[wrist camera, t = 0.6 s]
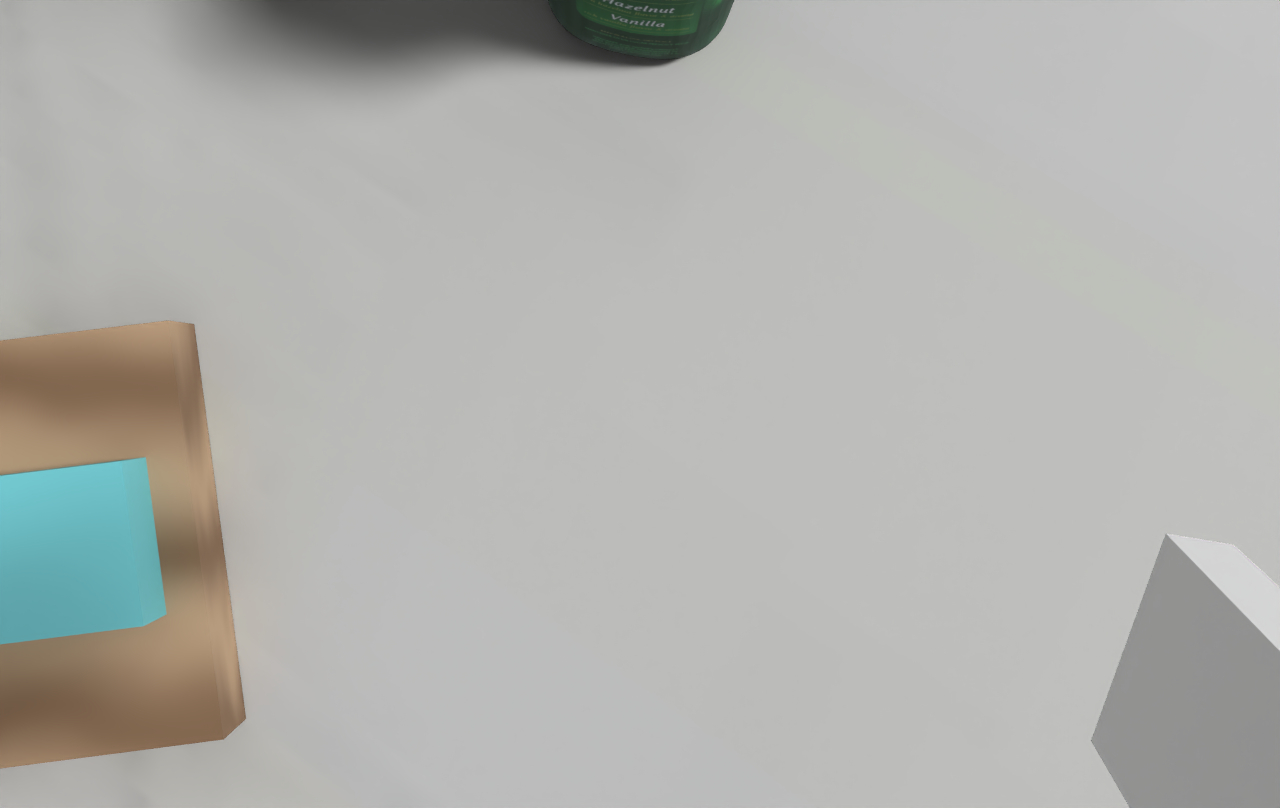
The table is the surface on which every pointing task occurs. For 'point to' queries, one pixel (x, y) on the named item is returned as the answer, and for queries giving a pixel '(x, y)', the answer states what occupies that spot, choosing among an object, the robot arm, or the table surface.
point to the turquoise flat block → (78, 551)
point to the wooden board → (186, 537)
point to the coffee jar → (644, 24)
